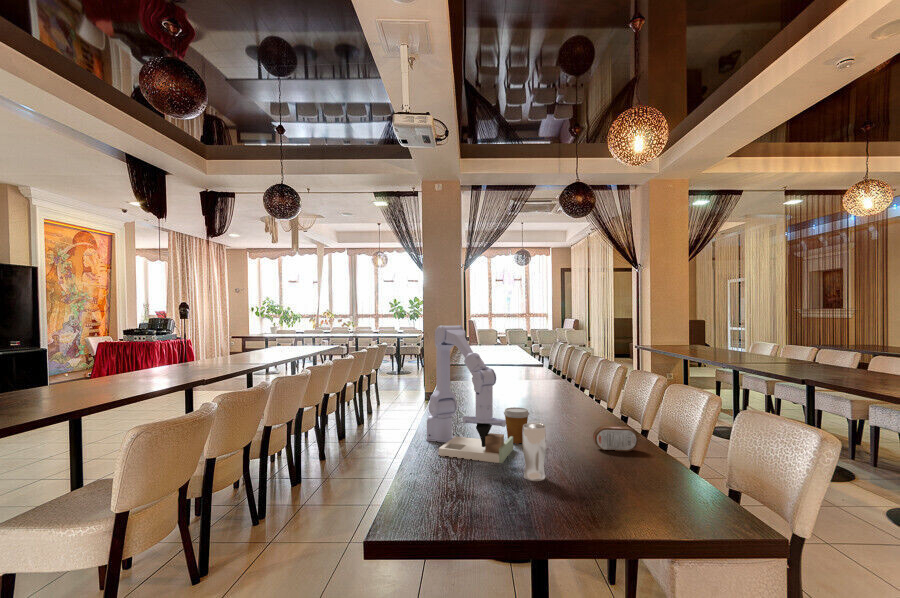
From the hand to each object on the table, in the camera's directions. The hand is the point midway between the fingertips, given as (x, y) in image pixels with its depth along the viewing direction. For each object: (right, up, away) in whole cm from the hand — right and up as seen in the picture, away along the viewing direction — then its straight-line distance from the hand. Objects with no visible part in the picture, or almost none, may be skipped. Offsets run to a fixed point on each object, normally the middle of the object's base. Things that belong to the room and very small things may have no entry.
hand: (484, 446), depth 151 cm
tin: (+47, -4, +8) cm, 48 cm away
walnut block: (+3, -1, -1) cm, 4 cm away
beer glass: (+13, -3, -19) cm, 23 cm away
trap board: (-2, -4, +5) cm, 7 cm away
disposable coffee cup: (+14, -5, +18) cm, 23 cm away
